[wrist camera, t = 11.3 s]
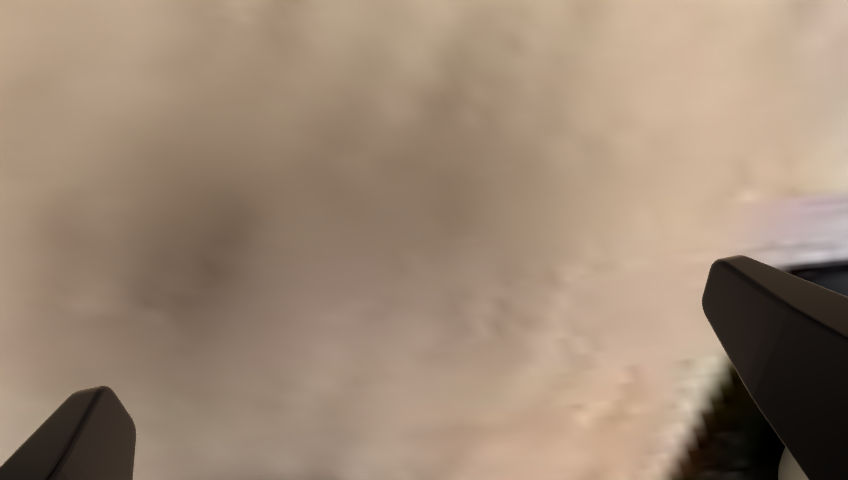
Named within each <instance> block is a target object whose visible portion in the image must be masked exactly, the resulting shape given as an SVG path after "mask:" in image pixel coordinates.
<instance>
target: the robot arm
mask: <svg viewBox="0 0 848 480" xmlns="http://www.w3.org/2000/svg"><path fill="white" fill-rule="evenodd" d="M702 306H703V310H704V313H705V315H706V317H707V319H708V321H709V323H710V324H711V326H712V328H713V330H714V332H715V333H716V335H717V337H718V339H719V341H720V342H721V344H722V346H723V348H724V350H725V351H726V353H727V355H728V357H729V359H730V360H731V362H732V364H733V366H734V368H735V369H736V371H737V373H738V375H739V376H740V378H741V380H742V382H743V384H744V385H745V387H746V389H747V390H748V392H749V394H750V395H751V397H752V399H753V400H754V402H755V403H756V405H757V406H758V408H759V409H760V411H761V412H762V414H763V415H764V417H765V418H766V419H767V421H768V422H769V424H770V425H771V427H772V428H773V429H774V431H775V432H776V434H777V435H778V437H779V438H780V439H781V441H782V442H783V444H784V445H785V447H786V448H787V449H788V451H789V452H790V454H791V455H792V457H793V458H794V459H795V461H796V462H797V464H798V465H799V467H800V468H801V469H802V471H803V472H804V474H805V475H806V477H807V478H808V479H809V480H848V297H847V296H844V295H842V294H839V293H837V292H834V291H832V290H829V289H826V288H824V287H821V286H819V285H816V284H814V283H811V282H809V281H806V280H804V279H801V278H799V277H796V276H794V275H791V274H789V273H786V272H784V271H781V270H779V269H776V268H774V267H771V266H769V265H766V264H764V263H761V262H759V261H756V260H754V259H751V258H749V257H746V256H742V255H737V256H732V257H727V258H722V259H718V260H716V261H715V262H714V263H713V264H712V265H711V268H710V272H709V275H708V279H707V282H706V286H705V290H704V293H703V297H702ZM135 443H136V429H135V425H134V422H133V420H132V418H131V417H130V415H129V414H128V412H127V411H126V409H125V408H124V406H123V405H122V403H121V402H120V400H119V399H118V397H117V396H116V394H115V393H114V392H113V390H112V389H111V388H109V387H107V386H99V387H95V388H90V389H85V390H80V391H77V392H75V393H73V394H72V395H71V396H70V397H69V398H68V399H67V400H66V401H65V402H64V403H63V404H62V405H61V406H60V407H59V408H58V409H57V410H56V411H55V412H54V413H53V414H52V415H51V416H50V417H49V418H48V419H47V420H46V421H45V422H44V423H43V424H42V425H41V426H40V427H39V428H38V429H37V430H36V431H35V432H34V433H33V434H32V435H31V436H30V437H29V438H28V439H27V440H26V441H25V442H24V443H23V444H22V445H21V446H20V447H19V448H18V449H17V451H16V452H15V453H14V454H13V455H12V456H11V457H10V458H9V459H8V460H7V461H6V462H5V463H4V464H3V465H2V466H1V467H0V480H132V479H133V467H134V455H135Z"/></svg>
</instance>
